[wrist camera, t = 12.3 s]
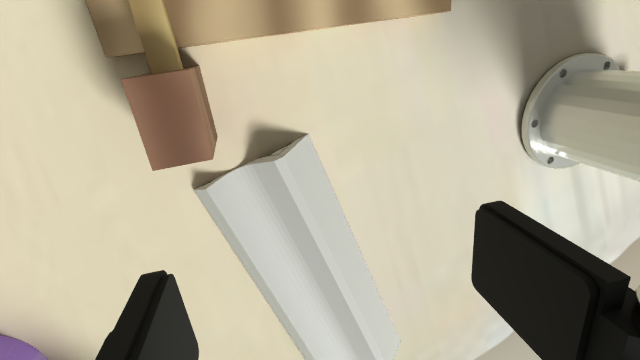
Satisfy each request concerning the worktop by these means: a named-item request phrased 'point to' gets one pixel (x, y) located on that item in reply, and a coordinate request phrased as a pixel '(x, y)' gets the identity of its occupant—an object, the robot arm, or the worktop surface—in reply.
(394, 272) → the worktop surface
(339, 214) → the crown molding
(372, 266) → the worktop surface
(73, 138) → the worktop surface
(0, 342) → the masking tape
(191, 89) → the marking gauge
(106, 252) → the worktop surface
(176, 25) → the oak board
